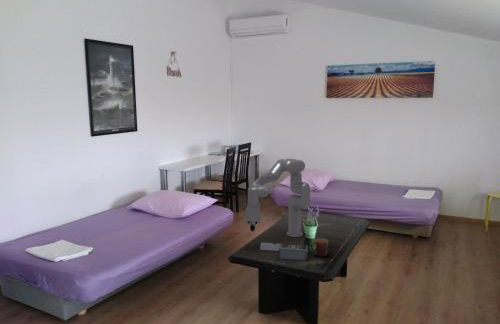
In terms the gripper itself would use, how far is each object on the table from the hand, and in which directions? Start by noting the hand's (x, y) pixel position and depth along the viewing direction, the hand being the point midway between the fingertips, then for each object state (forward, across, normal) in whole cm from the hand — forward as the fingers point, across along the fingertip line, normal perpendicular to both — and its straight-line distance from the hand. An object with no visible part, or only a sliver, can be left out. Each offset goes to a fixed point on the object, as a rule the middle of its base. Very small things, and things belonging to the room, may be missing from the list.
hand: (252, 230), depth 275 cm
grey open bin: (+13, -29, +7) cm, 33 cm away
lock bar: (+13, -13, -1) cm, 19 cm away
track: (+13, -12, -1) cm, 18 cm away
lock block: (+13, -29, +6) cm, 32 cm away
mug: (+13, -46, +2) cm, 48 cm away
